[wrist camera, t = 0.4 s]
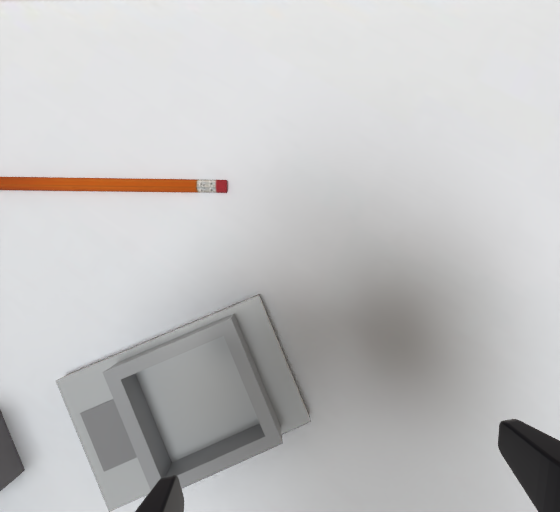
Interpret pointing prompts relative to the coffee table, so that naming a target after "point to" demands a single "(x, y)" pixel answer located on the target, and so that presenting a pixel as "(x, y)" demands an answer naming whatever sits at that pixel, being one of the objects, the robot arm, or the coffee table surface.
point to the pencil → (112, 184)
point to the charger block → (8, 457)
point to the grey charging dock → (184, 403)
